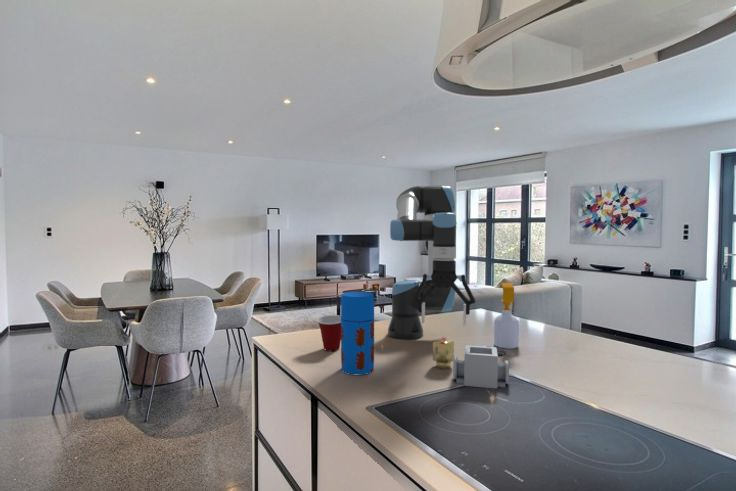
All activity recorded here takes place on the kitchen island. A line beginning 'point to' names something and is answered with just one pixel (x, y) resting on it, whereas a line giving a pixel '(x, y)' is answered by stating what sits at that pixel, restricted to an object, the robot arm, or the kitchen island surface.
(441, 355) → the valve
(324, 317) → the plastic cup
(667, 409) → the kitchen island surface
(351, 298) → the thermos
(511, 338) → the soap bottle
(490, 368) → the grey box with flanges
